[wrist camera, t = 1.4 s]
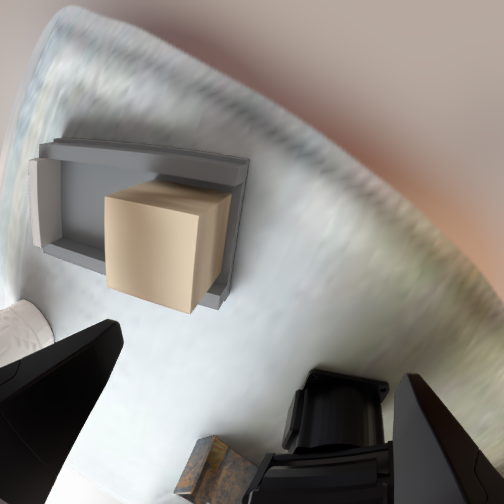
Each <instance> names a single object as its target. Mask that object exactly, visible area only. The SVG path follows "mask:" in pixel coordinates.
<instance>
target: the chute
mask: <svg viewBox="0 0 504 504" xmlns="http://www.w3.org/2000/svg"><path fill="white" fill-rule="evenodd" d="M248 165H249V159H246V158H240V157H234V156H228V155H222V154H216V153H209V152H203V151H196V150H189V149H181V148H174V147H166V146H157V145H148V144H139V143H129V142H118V141H105V140H91V139H74V138H56V139H54V142H51V143H45V144H39V158H36V159H31V160H29V191H30V211H31V224H32V235H33V244H34V246H37V247H39V248H43V252H44V253H46V254H49V255H51V256H54V257H57V258H59V259H62V260H65V261H67V262H70V263H73V264H76V265H78V266H81V267H84V268H87V269H90V270H92V271H95V272H98V273H101V274H104V275H106V262H105V226H104V210H105V196H107V195H110V194H113V193H115V192H118V191H121V190H124V189H127V188H130V187H133V186H136V185H139V184H142V183H145V182H148V181H151V180H154V179H156V180H162V181H168V182H174V183H179V184H185V185H190V186H196V187H201V188H206V189H212V190H217V191H222V192H227V193H232V197H231V204H230V211H229V218H228V225H227V232H226V239H225V247H224V254H223V262H222V269H221V273H220V274H219V276H218V277H217V279H216V280H215V281H214V283H213V284H212V285H211V287H210V288H209V289H208V291H207V292H206V293H205V295H204V296H203V298H202V299H201V300H200V302H199V303H198V304H199V305H202V306H206V307H209V308H213V309H216V310H219V308H220V306H221V305H222V303H223V301H225V300H226V299H227V297H228V295H229V288H230V281H231V275H232V268H233V261H234V255H235V248H236V241H237V235H238V228H239V222H240V215H241V209H242V203H243V196H244V190H245V184H246V178H247V171H248Z"/></svg>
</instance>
